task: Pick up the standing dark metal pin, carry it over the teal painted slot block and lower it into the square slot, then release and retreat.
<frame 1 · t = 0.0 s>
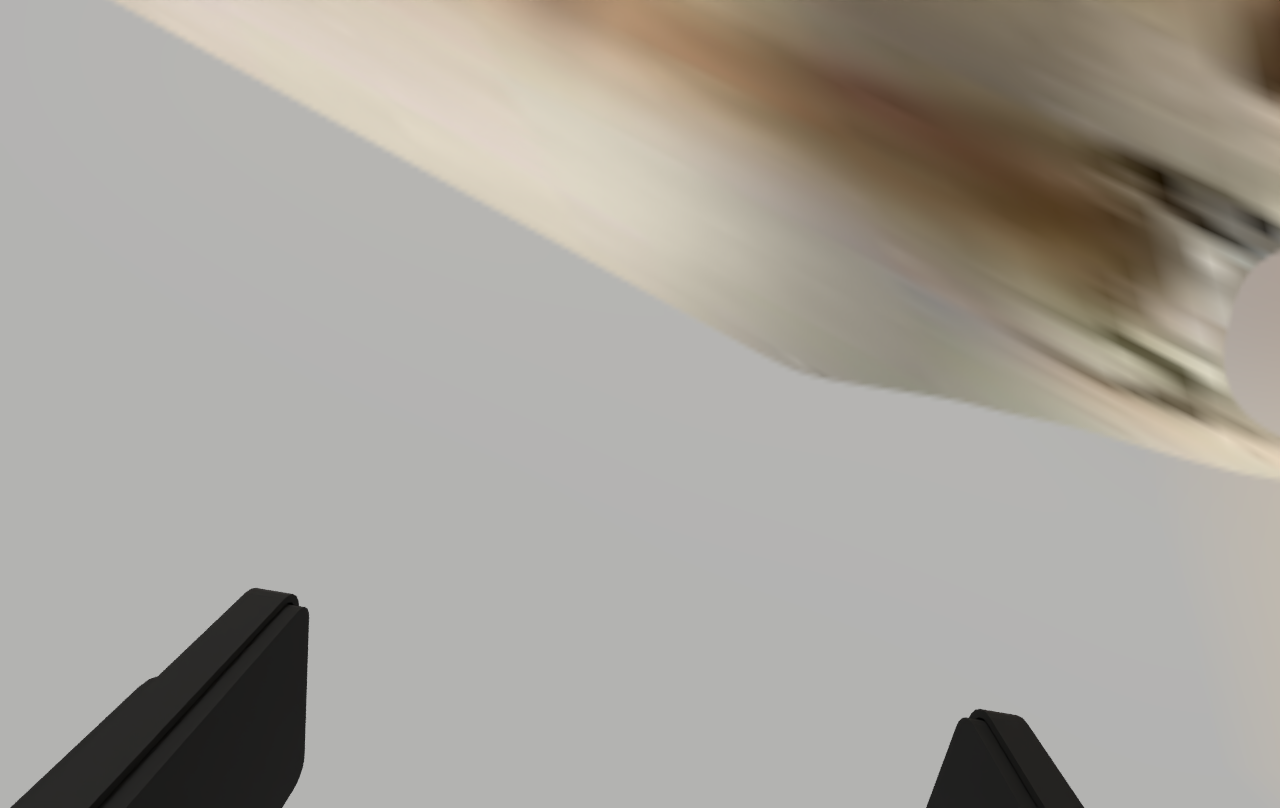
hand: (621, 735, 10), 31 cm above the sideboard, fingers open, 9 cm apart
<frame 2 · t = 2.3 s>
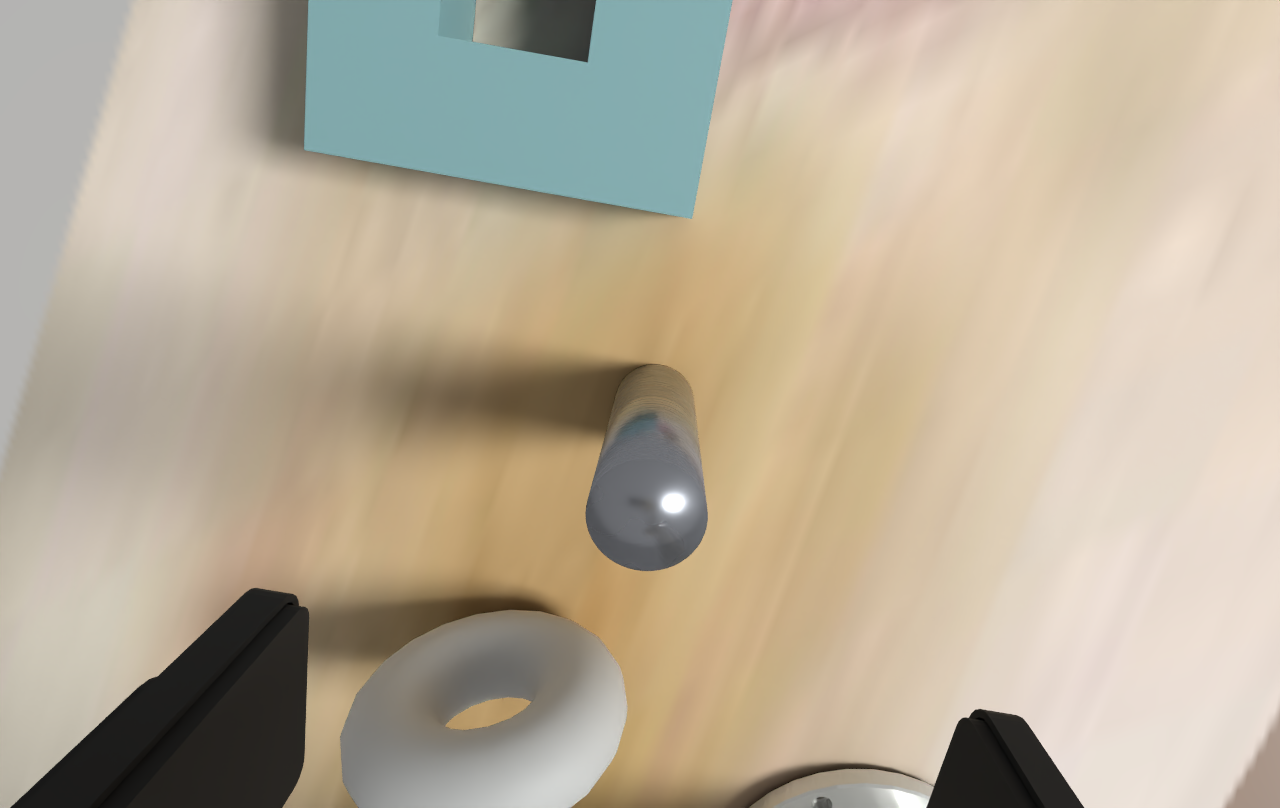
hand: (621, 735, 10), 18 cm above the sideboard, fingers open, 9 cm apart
steel pin: (654, 402, 27), on the sideboard
donut: (518, 626, 30), on the sideboard
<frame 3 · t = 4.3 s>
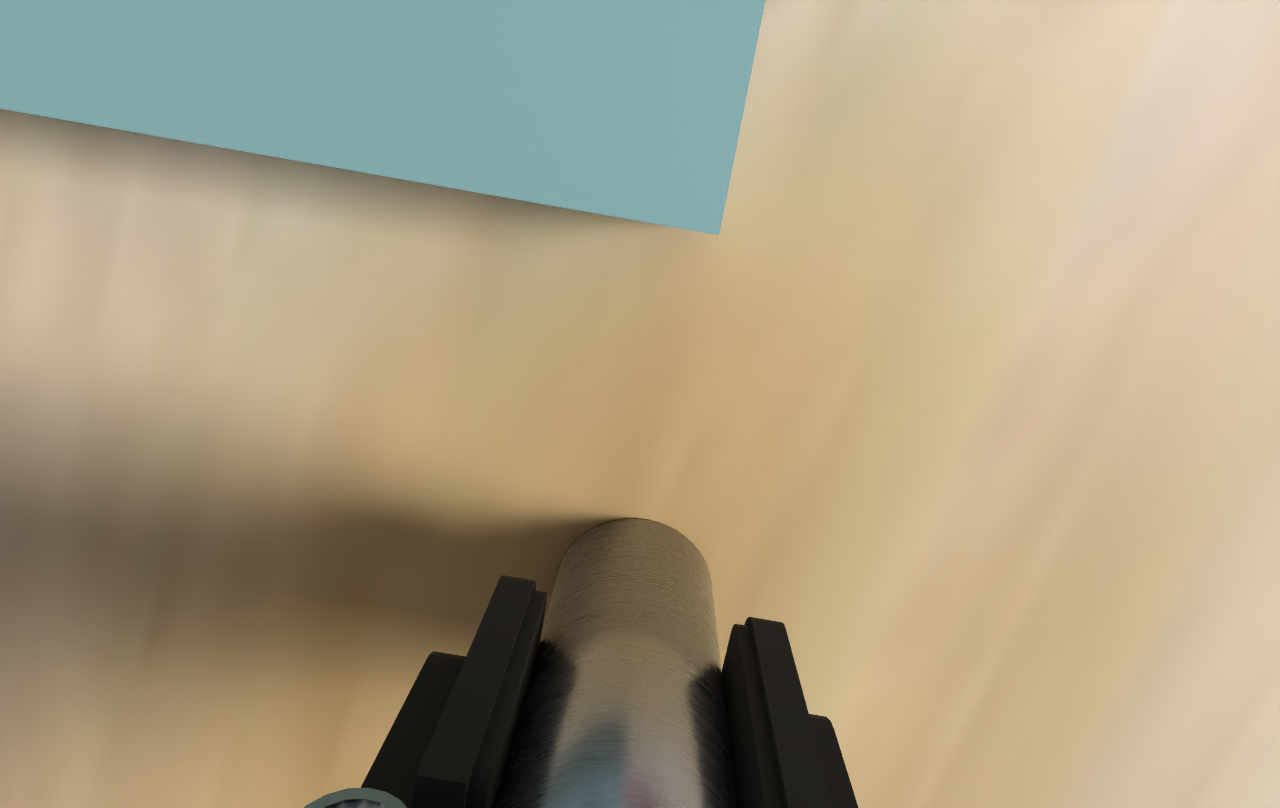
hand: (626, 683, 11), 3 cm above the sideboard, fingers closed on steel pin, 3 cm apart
steel pin: (634, 588, 14), on the sideboard, touching gripper
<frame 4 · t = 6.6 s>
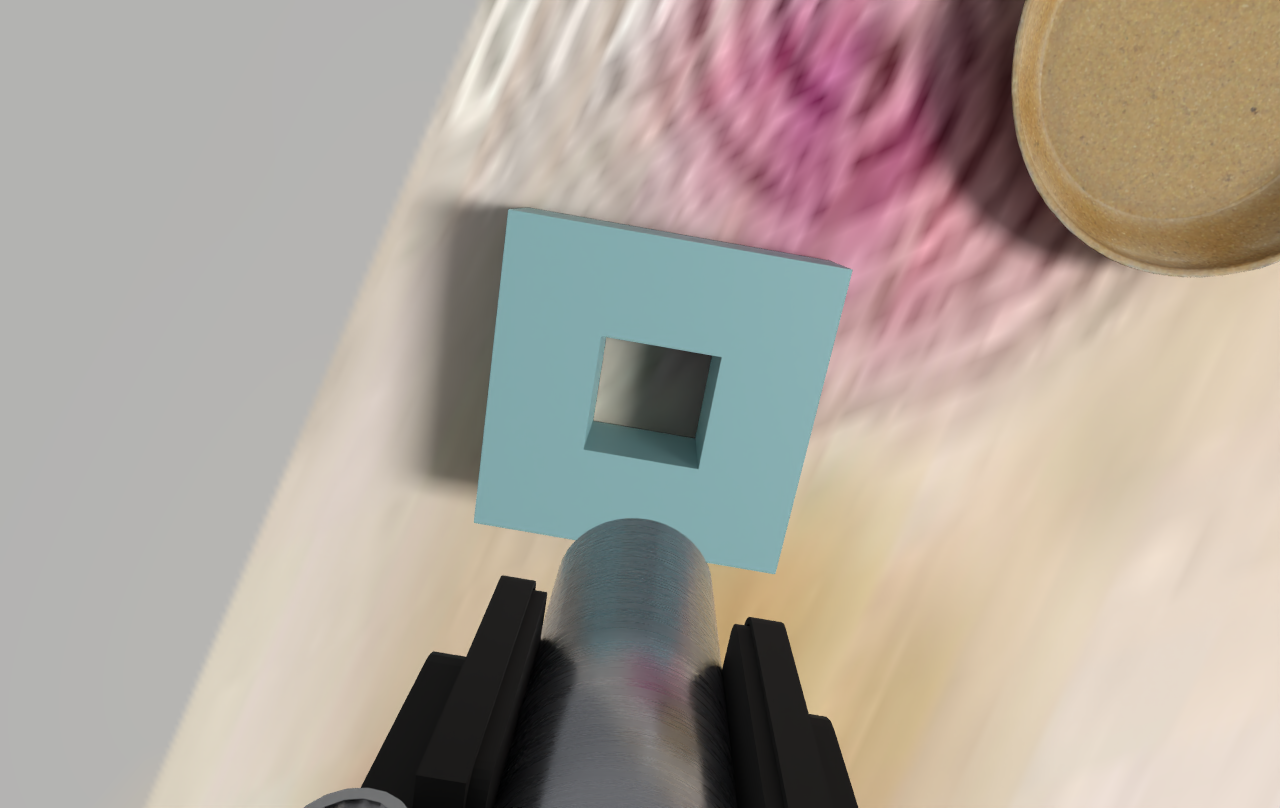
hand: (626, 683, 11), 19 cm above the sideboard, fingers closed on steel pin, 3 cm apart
steel pin: (634, 588, 14), point 16 cm above the sideboard, touching gripper
slot block: (653, 380, 29), on the sideboard
plant saucer: (1184, 63, 25), on the sideboard
when the fingers open (4 cm above the sideboard, at t = 8.7 s): steel pin drops 2 cm, resting in slot block.
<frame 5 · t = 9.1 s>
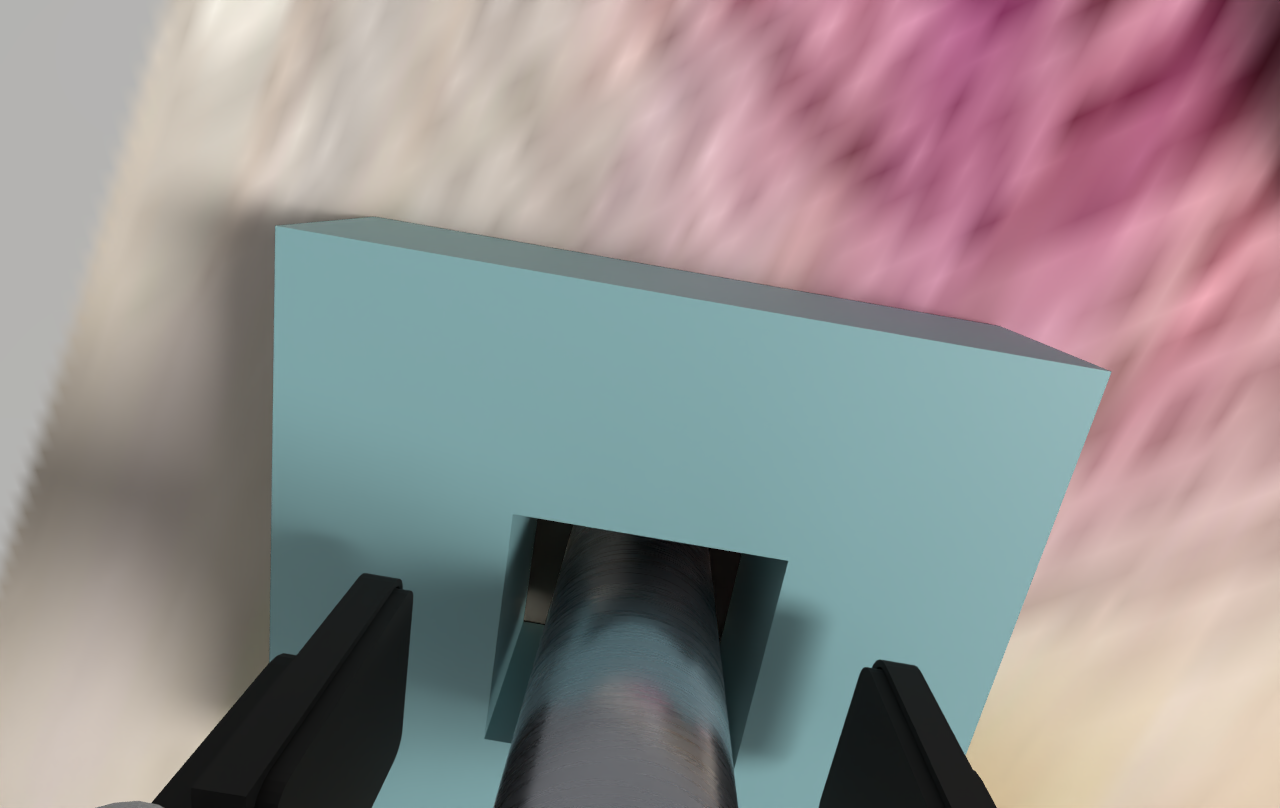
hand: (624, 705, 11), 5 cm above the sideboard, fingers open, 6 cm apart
steel pin: (638, 551, 15), resting in slot block
slot block: (636, 551, 15), on the sideboard
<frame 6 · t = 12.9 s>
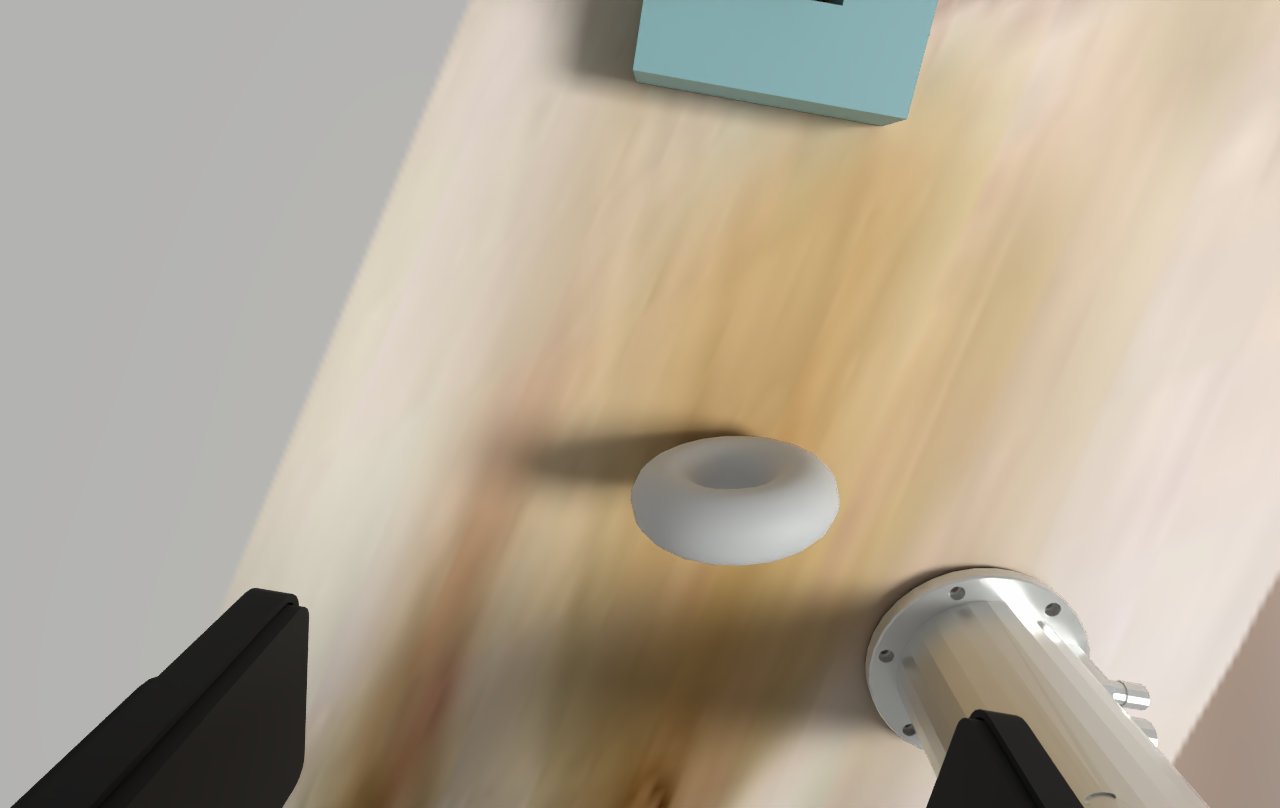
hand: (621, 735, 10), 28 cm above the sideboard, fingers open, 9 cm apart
donut: (724, 455, 39), on the sideboard
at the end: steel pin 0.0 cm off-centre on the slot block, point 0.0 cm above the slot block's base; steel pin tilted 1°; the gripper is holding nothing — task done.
